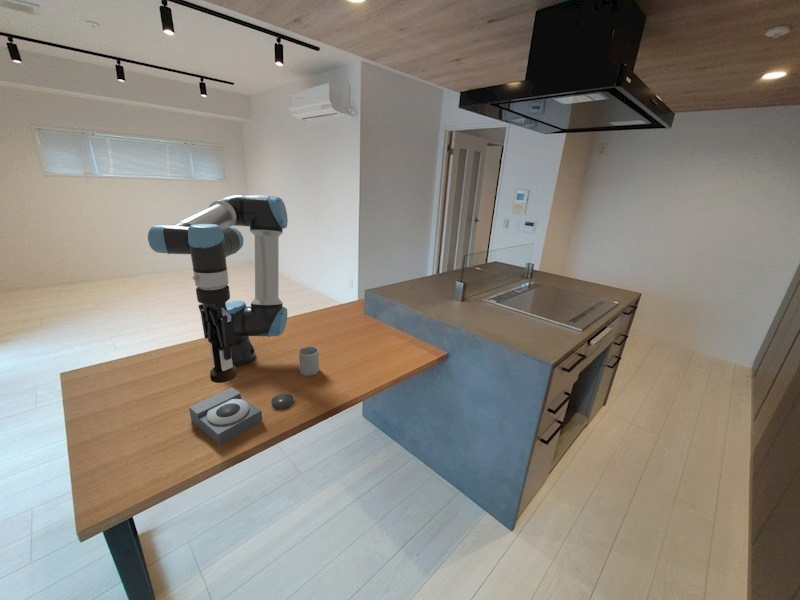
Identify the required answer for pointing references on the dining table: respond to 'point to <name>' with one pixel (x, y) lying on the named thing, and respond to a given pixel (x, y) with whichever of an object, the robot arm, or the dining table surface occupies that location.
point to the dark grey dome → (282, 401)
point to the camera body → (225, 416)
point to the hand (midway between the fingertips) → (222, 365)
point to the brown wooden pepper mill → (217, 372)
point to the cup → (309, 360)
